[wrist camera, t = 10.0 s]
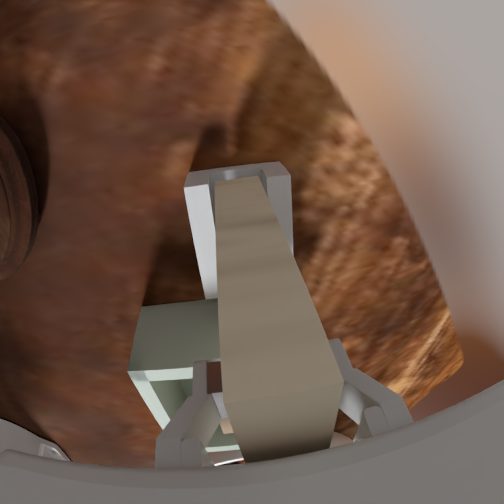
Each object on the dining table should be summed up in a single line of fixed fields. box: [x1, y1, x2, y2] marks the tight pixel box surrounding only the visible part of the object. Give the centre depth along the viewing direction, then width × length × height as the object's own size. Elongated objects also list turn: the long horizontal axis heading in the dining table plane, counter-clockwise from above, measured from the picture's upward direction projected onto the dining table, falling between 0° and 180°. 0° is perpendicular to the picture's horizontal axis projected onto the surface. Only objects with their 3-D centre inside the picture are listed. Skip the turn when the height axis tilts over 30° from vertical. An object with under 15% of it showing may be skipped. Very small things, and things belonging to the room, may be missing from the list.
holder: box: [184, 161, 293, 299], centre depth 21 cm, size 8×6×3 cm
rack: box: [127, 298, 240, 452], centre depth 26 cm, size 14×12×7 cm
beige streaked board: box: [215, 176, 344, 463], centre depth 14 cm, size 8×2×14 cm, turn 6°
